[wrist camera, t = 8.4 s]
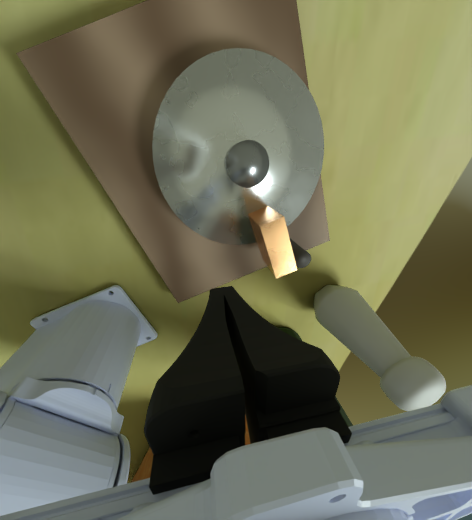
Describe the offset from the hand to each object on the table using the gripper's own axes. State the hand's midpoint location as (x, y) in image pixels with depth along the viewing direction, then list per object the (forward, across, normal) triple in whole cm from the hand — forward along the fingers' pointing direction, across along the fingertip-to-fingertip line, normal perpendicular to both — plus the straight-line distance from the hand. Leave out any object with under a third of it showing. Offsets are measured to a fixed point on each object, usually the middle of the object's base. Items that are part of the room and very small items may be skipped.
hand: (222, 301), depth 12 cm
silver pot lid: (+8, -3, -6) cm, 11 cm away
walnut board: (+9, -1, -7) cm, 12 cm away
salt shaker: (+10, -14, +9) cm, 20 cm away
